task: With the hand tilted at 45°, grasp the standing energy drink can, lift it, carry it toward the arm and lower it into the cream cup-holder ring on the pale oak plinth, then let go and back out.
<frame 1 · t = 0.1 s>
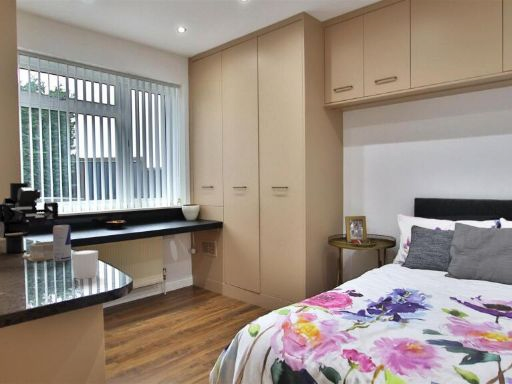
hand: (37, 212, 122), 17 cm above the worktop, tool horizontal, fingers open, 9 cm apart
energy drink: (62, 260, 124), on the worktop
cup bracket: (45, 257, 128), on the worktop
white cup: (85, 277, 101), on the worktop
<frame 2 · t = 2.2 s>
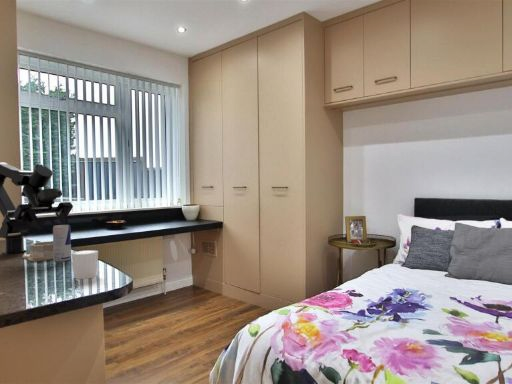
hand: (54, 227, 125), 11 cm above the worktop, tool tilted 45°, fingers open, 9 cm apart
nothing on the worktop moved.
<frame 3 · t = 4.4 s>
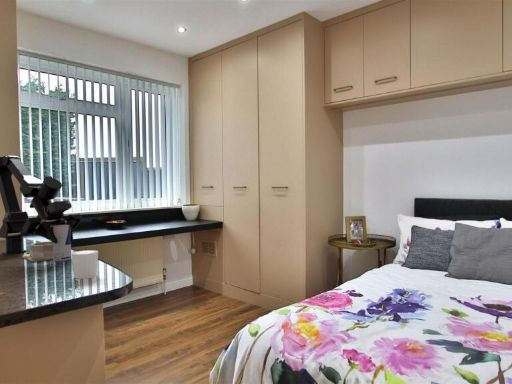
hand: (64, 241, 123), 7 cm above the worktop, tool tilted 45°, fingers closed on energy drink, 5 cm apart
energy drink: (62, 260, 124), on the worktop, touching gripper
everything else where it was.
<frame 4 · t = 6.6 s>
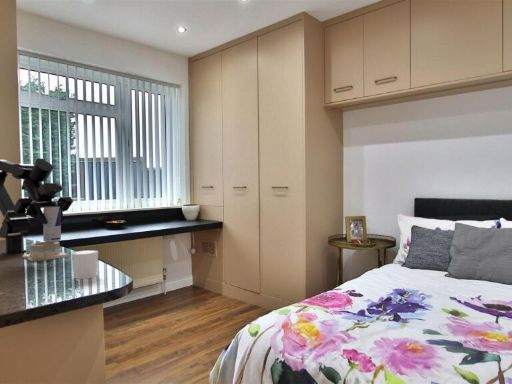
hand: (54, 222, 125), 13 cm above the worktop, tool tilted 45°, fingers closed on energy drink, 5 cm apart
energy drink: (52, 241, 126), point 6 cm above the worktop, touching gripper
everything else where it was.
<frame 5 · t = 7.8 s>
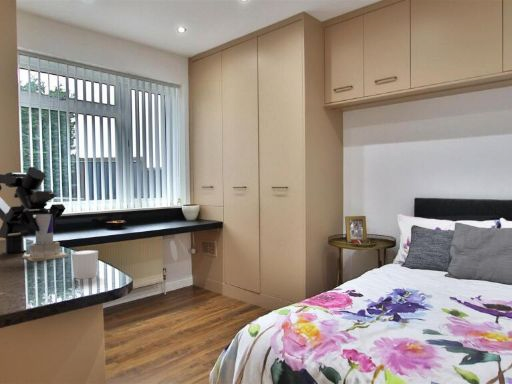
hand: (46, 229, 128), 10 cm above the worktop, tool tilted 45°, fingers closed on energy drink, 5 cm apart
energy drink: (44, 248, 128), point 3 cm above the worktop, touching gripper
everything else where it was.
when the fingers open (9 cm above the worktop, at t = 8.9 s): energy drink drops 1 cm, resting on cup bracket.
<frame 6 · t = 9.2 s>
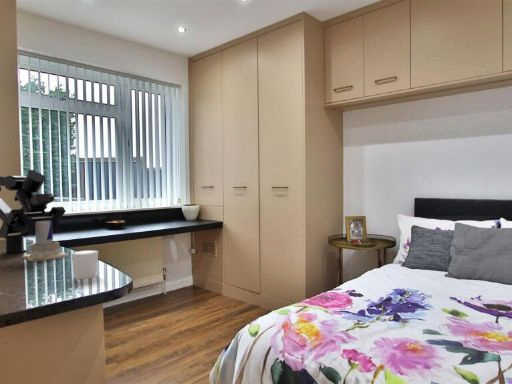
hand: (47, 232, 128), 9 cm above the worktop, tool tilted 45°, fingers open, 8 cm apart
energy drink: (44, 254, 129), point 1 cm above the worktop, touching cup bracket
everything else where it was.
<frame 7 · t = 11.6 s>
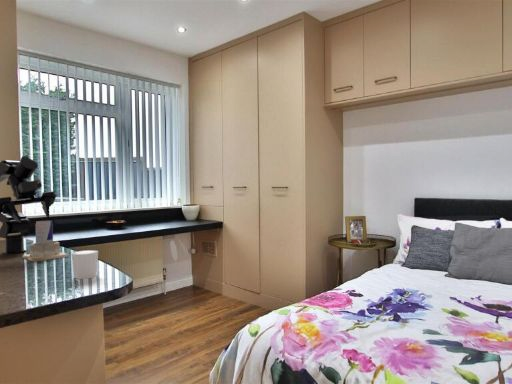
hand: (34, 219, 130), 14 cm above the worktop, tool tilted 40°, fingers open, 9 cm apart
nothing on the worktop moved.
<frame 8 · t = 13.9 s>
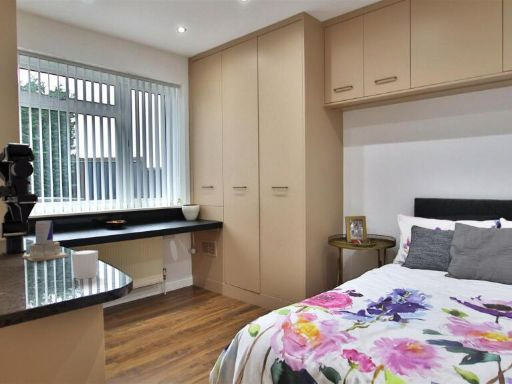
hand: (19, 221, 127), 13 cm above the worktop, tool pointing down, fingers open, 9 cm apart
nothing on the worktop moved.
at the end: energy drink 0.2 cm off-centre on the cup bracket, point 0.8 cm above the cup bracket's base; energy drink tilted 0°; the gripper is holding nothing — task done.
